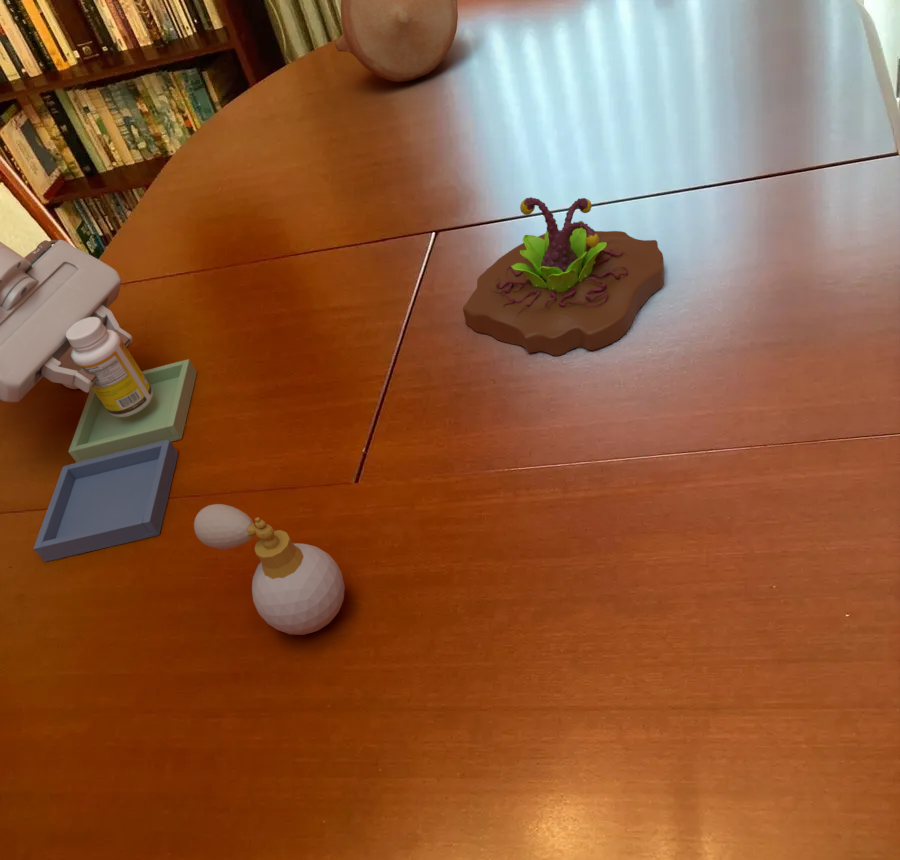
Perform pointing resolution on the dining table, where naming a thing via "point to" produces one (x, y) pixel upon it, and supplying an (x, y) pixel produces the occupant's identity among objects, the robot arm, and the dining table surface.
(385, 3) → the jug
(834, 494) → the dining table surface
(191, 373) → the green tray
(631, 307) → the plant
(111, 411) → the supplement bottle
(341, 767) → the dining table surface
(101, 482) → the blue tray
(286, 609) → the perfume bottle
